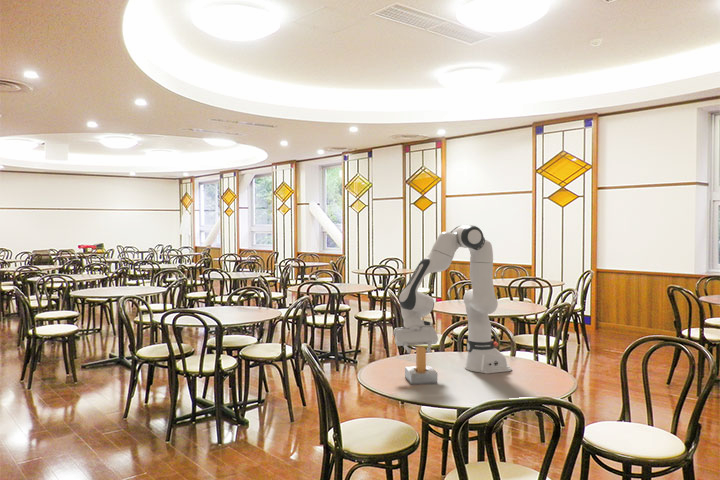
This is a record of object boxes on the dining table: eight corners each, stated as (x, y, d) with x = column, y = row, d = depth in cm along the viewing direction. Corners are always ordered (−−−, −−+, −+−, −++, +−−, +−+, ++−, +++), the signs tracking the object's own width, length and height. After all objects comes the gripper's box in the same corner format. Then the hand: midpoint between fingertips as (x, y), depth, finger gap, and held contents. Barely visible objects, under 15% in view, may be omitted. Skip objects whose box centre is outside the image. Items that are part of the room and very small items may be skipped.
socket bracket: (429, 375, 247) (429, 365, 247) (437, 383, 235) (437, 372, 235) (404, 376, 245) (404, 366, 245) (411, 384, 234) (411, 374, 233)
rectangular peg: (423, 377, 242) (423, 347, 242) (425, 379, 239) (425, 348, 238) (416, 377, 242) (416, 347, 241) (418, 379, 238) (418, 349, 238)
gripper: (393, 324, 249) (398, 349, 240) (435, 322, 253) (441, 347, 243) (391, 331, 254) (396, 356, 245) (432, 329, 257) (438, 354, 248)
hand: (419, 352), depth 244 cm, fingers open, 8 cm apart
